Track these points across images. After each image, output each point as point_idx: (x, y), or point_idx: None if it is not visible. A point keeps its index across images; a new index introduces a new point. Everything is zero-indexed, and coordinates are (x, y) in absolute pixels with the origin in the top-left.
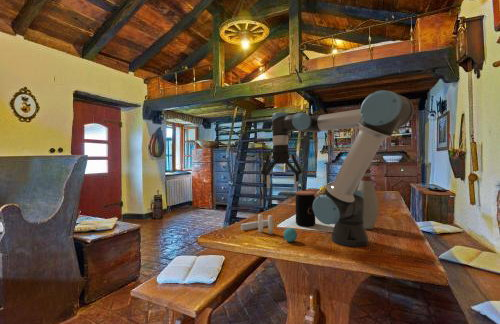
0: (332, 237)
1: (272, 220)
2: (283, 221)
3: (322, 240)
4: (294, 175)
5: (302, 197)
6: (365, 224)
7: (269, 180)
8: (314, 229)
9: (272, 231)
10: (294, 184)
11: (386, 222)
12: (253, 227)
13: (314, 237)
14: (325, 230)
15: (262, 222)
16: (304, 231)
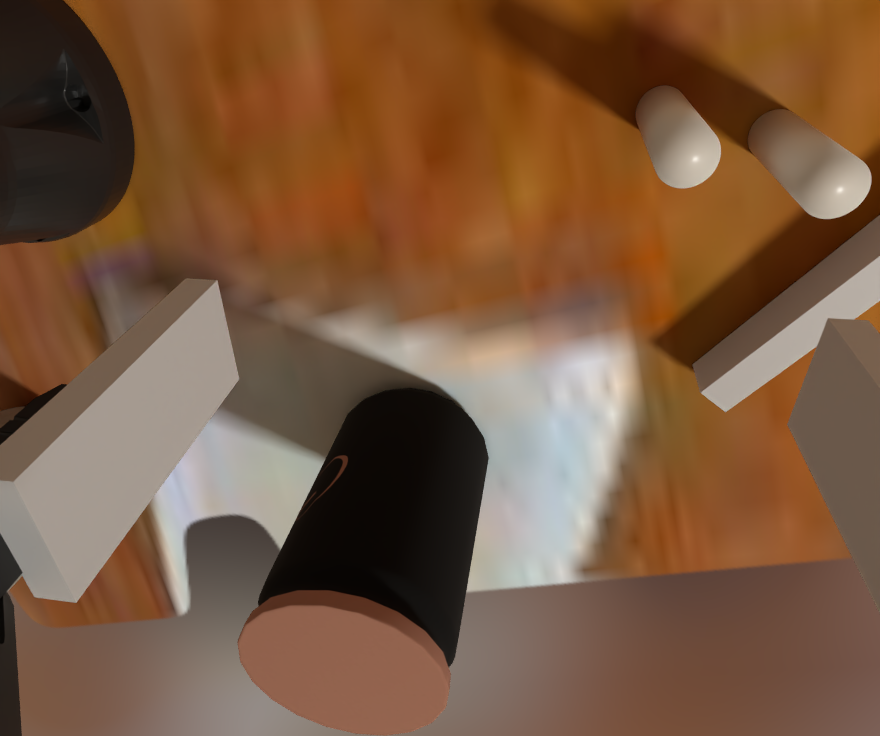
0: (84, 53)
1: (650, 137)
2: (600, 490)
3: (179, 52)
4: (5, 469)
5: (356, 571)
6: (9, 414)
7: (872, 530)
8: (322, 335)
9: (640, 108)
10: (164, 322)
11: None
12: (871, 229)
13: (259, 117)
14: (245, 329)
15: (778, 152)
16: (377, 263)
